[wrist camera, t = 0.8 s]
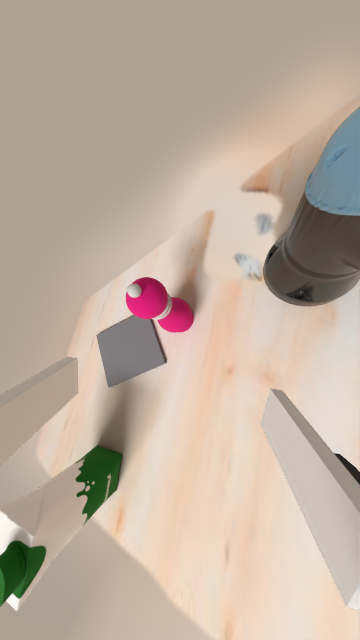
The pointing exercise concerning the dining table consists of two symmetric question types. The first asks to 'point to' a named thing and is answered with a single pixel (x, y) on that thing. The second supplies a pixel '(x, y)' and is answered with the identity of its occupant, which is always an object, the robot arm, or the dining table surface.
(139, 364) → the rubber mat
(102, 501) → the milk carton
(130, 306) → the pepper mill
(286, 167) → the dining table surface
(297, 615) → the dining table surface
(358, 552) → the robot arm
